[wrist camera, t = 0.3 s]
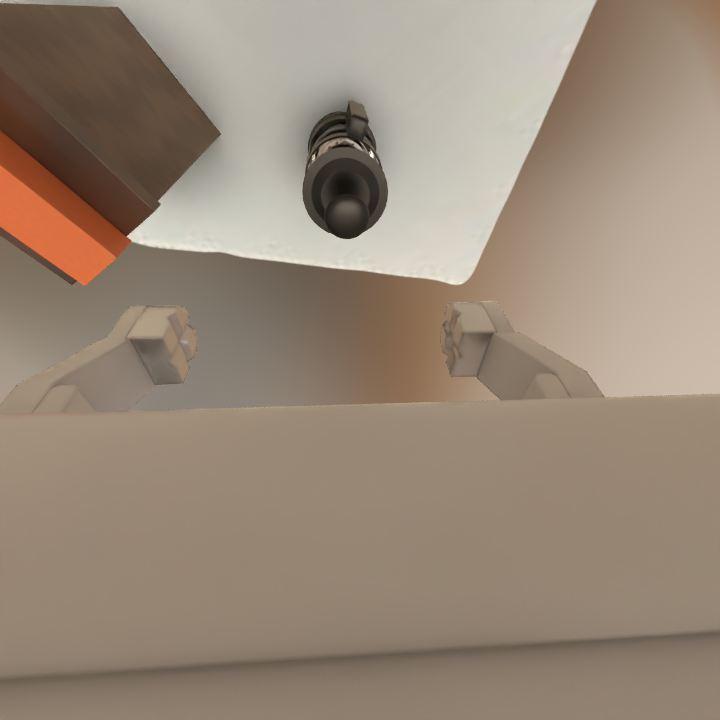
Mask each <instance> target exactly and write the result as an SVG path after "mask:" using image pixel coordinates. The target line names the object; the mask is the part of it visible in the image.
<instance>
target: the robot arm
mask: <svg viewBox="0 0 720 720" xmlns="http://www.w3.org/2000/svg"><path fill="white" fill-rule="evenodd" d="M445 315H446V318H447V321H446V322H444V323H443V324H442V328H441V336H440V341H441V348H442V351H443V353H445V354H446V355H447V361H446V363H447V366H448V369H449V372H450V375H451V377H477V379H478V380H480V381H481V382H482V383H483V384H484V385H485V386H486V387H487V388H488V389H489V390H490V391H491V392H493V393H494V394H495V395H496V396H497V397H498V398H499V399H500V400H494V401H463V402H462V401H461V402H425V403H391V404H355V405H354V404H353V405H320V406H287V407H251V408H215V409H182V410H181V409H179V410H145V411H128V410H129V409H130V408H131V407H132V406H134V405H135V404H136V403H137V402H138V401H139V400H140V399H141V398H143V397H144V396H145V395H146V394H147V393H148V392H149V391H151V389H153V388H154V387H155V385H161V384H181V383H184V382H185V379H186V376H187V374H188V372H189V369H190V366H189V364H188V362H189V361H190V360H192V359H193V358H194V357H195V354H196V351H197V338H196V334H195V331H194V329H193V328H192V327H191V326H189V325H188V324H187V321H188V319H189V315H188V313H187V311H186V308H184V307H183V306H131V307H128V308H127V309H126V311H125V312H124V314H123V315H122V317H121V318H120V319H119V321H118V322H117V324H116V325H115V326H114V328H113V329H112V331H111V332H110V334H109V335H108V336H107V338H106V339H105V340H99V341H97V342H95V343H93V344H91V345H89V346H88V347H86V348H84V349H82V350H80V351H78V352H76V353H75V354H73V355H71V356H69V357H67V358H65V359H64V360H62V361H60V362H58V363H56V364H55V365H53V366H51V367H49V368H47V369H45V370H43V371H41V372H40V373H38V374H36V375H34V376H32V377H30V378H29V379H27V380H25V381H23V382H21V383H19V384H18V385H16V386H15V388H14V389H13V390H12V391H11V392H10V393H9V395H8V396H7V397H6V398H5V399H4V401H3V402H2V403H1V404H0V720H720V394H702V395H670V396H669V395H668V396H638V397H637V396H634V397H604V395H603V394H602V392H601V391H600V390H599V388H598V387H597V385H596V384H595V383H594V381H593V380H592V378H591V377H590V376H589V374H588V372H587V371H585V370H583V369H582V368H580V367H578V366H576V365H575V364H573V363H571V362H569V361H568V360H566V359H564V358H563V357H561V356H559V355H558V354H556V353H554V352H553V351H551V350H549V349H547V348H546V347H544V346H542V345H540V344H539V343H537V342H535V341H534V340H532V339H530V338H529V337H527V336H525V335H523V334H522V333H520V332H515V331H514V330H513V328H512V326H511V324H510V323H509V321H508V319H507V318H506V316H505V314H504V312H503V311H502V309H501V307H500V305H499V304H498V303H497V302H496V301H485V302H465V303H464V302H461V303H448V305H447V307H446V311H445Z"/></svg>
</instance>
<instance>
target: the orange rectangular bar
mask: <svg viewBox="0 0 720 720" xmlns="http://www.w3.org/2000/svg"><path fill="white" fill-rule="evenodd" d="M0 227H1V228H3V229H4V230H6V231H7V232H9V233H10V234H11V235H13V236H14V237H16V238H17V239H18V240H20V241H21V242H23V243H24V244H26V245H27V246H28V247H30V248H31V249H33V250H34V251H35V252H37V253H38V254H40V255H41V256H43V257H44V258H45V259H47V260H48V261H50V262H51V263H53V264H54V265H55V266H57V267H58V268H60V269H61V270H62V271H64V272H65V273H67V274H68V275H70V276H71V277H72V278H74V279H75V280H77V281H78V282H80V283H81V284H83V285H84V286H85V285H87V284H88V283H89V282H90V281H91V280H92V279H93V278H94V277H96V276H97V275H98V274H99V273H100V272H101V271H103V270H104V268H106V267H107V266H108V265H109V264H111V263H112V262H113V261H114V260H115V259H116V258H117V257H118V256H119V255H120V254H121V253H122V252H123V250H124V249H125V248H126V247H127V246H128V245H129V244H130V243H131V240H130V239H129V238H127V237H126V236H125V235H124V234H123V233H121V232H120V231H119V230H118V229H117V228H116V227H114V226H113V225H112V224H111V223H110V222H108V221H107V220H106V219H105V218H104V217H103V216H101V215H100V214H99V213H98V212H97V211H95V210H94V209H93V208H92V207H91V206H90V205H88V204H87V203H86V202H85V201H84V200H82V199H81V198H80V197H79V196H78V195H76V194H75V193H74V192H73V191H72V190H71V189H69V188H68V187H67V186H66V185H65V184H63V183H62V182H61V181H60V180H59V179H58V178H56V177H55V176H54V175H53V174H52V173H50V172H49V171H48V170H47V169H46V168H45V167H43V166H42V165H41V164H40V163H39V162H37V161H36V160H35V159H34V158H33V157H32V156H30V155H29V154H28V153H27V152H26V151H24V150H23V149H22V148H21V147H20V146H18V145H17V144H16V143H15V142H14V141H13V140H11V139H10V138H9V137H8V136H7V135H5V134H4V133H3V132H2V131H1V130H0Z"/></svg>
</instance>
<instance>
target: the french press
mask: <svg viewBox="0 0 720 720" xmlns="http://www.w3.org/2000/svg"><path fill="white" fill-rule="evenodd" d="M337 124H346V127H336V128H332V129H330V130H328V131H326V130H327V129H328V128H329V127H331V126H333V125H337ZM325 131H326V132H325ZM324 132H325V133H324ZM376 158H377V160H378V162H379V164H378V163H377V162H376ZM309 164H310V167H309V169H308V165H309ZM302 192H303V201H304V204H305V208H306V210H307V212H308V214H309V216H310V217H311V219H312V220H313V221H314V222H315V223H316V224H317V225H318V226H319V227H320V228H321V229H323V230H325V231H326V232H328V233H331V234H334V235H335V236H337V237H339V238H343V239H351V238H355V237H357V236H359V235H360V234H362V233H363V232H365V231H366V230H368V229H369V228H371V227H372V226H373V225H374V224H375V223H376V222H377V221H378V220H379V218H380V217H381V215H382V213H383V211H384V209H385V207H386V203H387V196H388V188H387V181H386V178H385V175H384V172H383V171H382V166H381V163H380V160H379V157H378V155H377V153H376V144H375V139H374V136H373V133H372V132H371V130H370V128H369V126H368V117H367V114H366V111H365V109H364V106H363V105H362V104H359V103H356V102H354V101H349V104H348V108H347V112H334V113H331V114H329V115H327V116H325V117H323V118H322V119H321V120H320V121H319V122H318V123H317V124H316V125H315V127H314V128H313V130H312V132H311V135H310V138H309V143H308V158H307V164H306V171H305V178H304V182H303V191H302Z"/></svg>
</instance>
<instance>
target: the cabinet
mask: <svg viewBox="0 0 720 720" xmlns="http://www.w3.org/2000/svg"><path fill="white" fill-rule="evenodd" d="M0 130H1V131H2V132H3V133H4V134H5V135H7V136H8V137H9V138H10V139H11V140H13V141H14V142H15V143H16V144H17V145H18V146H20V147H21V148H22V149H23V150H24V151H26V152H27V153H28V154H29V155H30V156H32V157H33V158H34V159H35V160H36V161H37V162H39V163H40V164H41V165H42V166H43V167H45V168H46V169H47V170H48V171H49V172H50V173H52V174H53V175H54V176H55V177H56V178H58V179H59V180H60V181H61V182H62V183H63V184H65V185H66V186H67V187H68V188H69V189H71V190H72V191H73V192H74V193H75V194H76V195H78V196H79V197H80V198H81V199H82V200H84V201H85V202H86V203H87V204H88V205H90V206H91V207H92V208H93V209H94V210H95V211H97V212H98V213H99V214H100V215H101V216H103V217H104V218H105V219H106V220H107V221H108V222H110V223H111V224H112V225H113V226H114V227H116V228H117V229H118V230H119V231H120V232H121V233H123V234H124V235H125V236H128V235H129V234H130V233H131V232H132V231H133V230H134V229H135V228H137V227H138V226H139V225H140V224H141V223H142V222H143V221H144V220H146V219H147V218H148V217H149V216H150V215H151V214H152V213H153V212H154V211H155V210H156V209H157V208H158V207H159V206H160V205H161V204H160V203H159V202H158V200H159V199H160V198H161V197H162V196H163V195H164V194H165V193H166V192H167V191H168V190H169V189H170V187H171V186H172V185H173V184H174V183H175V182H176V181H177V180H178V179H179V178H180V177H181V176H182V175H183V174H184V173H185V171H186V170H187V169H188V168H189V167H190V166H191V165H192V164H193V163H194V162H195V161H196V160H197V159H198V158H199V157H200V155H201V154H202V153H203V152H204V151H205V150H206V149H207V148H208V147H209V146H210V145H211V144H212V143H213V142H214V141H215V139H216V138H217V137H218V136H219V135H220V132H219V131H218V130H217V129H216V127H215V126H214V125H213V124H212V122H211V121H210V120H209V119H208V117H207V116H206V115H205V114H204V113H203V111H202V110H201V109H200V108H199V106H198V105H197V104H196V103H195V101H194V100H193V99H192V98H191V97H190V95H189V94H188V93H187V92H186V90H185V89H184V88H183V87H182V85H181V84H180V83H179V82H178V80H177V79H176V78H175V77H174V76H173V74H172V73H171V72H170V71H169V69H168V68H167V67H166V66H165V64H164V63H163V62H162V61H161V60H160V58H159V57H158V56H157V55H156V53H155V52H154V51H153V50H152V48H151V47H150V46H149V45H148V44H147V42H146V41H145V40H144V39H143V37H142V36H141V35H140V34H139V32H138V31H137V30H136V29H135V28H134V26H133V25H132V24H131V23H130V21H129V20H128V19H127V18H126V16H125V15H124V14H123V13H122V11H121V10H120V9H119V8H118V7H96V6H67V5H39V4H10V3H0ZM0 235H1V236H2V237H4V238H5V239H6V240H8V241H9V242H11V243H12V244H14V245H15V246H16V247H18V248H20V249H21V250H22V251H24V252H25V253H27V254H28V255H29V256H31V257H33V258H34V259H35V260H37V261H38V262H40V263H41V264H42V265H44V266H45V267H47V268H48V269H50V270H51V271H53V272H54V273H55V274H57V275H58V276H60V277H61V278H63V279H64V280H66V281H67V282H69V283H70V284H71V285H72V284H74V283H75V282H76V281H77V280H75V279H74V278H72V277H71V276H70V275H68V274H67V273H65V272H64V271H62V270H61V269H60V268H58V267H57V266H55V265H54V264H53V263H51V262H50V261H48V260H47V259H45V258H44V257H43V256H41V255H40V254H38V253H37V252H35V251H34V250H33V249H31V248H30V247H28V246H27V245H26V244H24V243H23V242H21V241H20V240H18V239H17V238H16V237H14V236H13V235H11V234H10V233H9V232H7V231H6V230H4V229H3V228H1V227H0Z"/></svg>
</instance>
